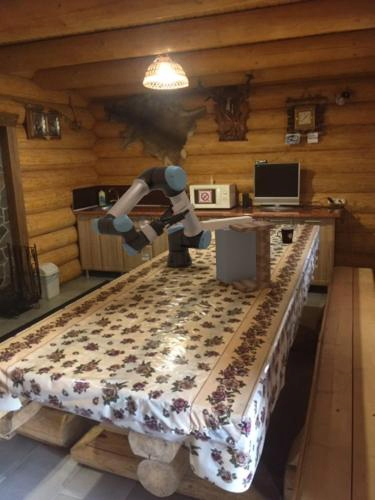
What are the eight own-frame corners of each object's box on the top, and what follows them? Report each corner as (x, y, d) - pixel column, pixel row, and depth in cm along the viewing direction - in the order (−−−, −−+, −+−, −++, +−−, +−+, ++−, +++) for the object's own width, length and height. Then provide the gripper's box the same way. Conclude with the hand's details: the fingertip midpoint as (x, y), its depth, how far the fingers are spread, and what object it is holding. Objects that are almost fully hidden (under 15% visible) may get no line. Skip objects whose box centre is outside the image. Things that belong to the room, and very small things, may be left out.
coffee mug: (292, 241, 291) (292, 226, 288) (294, 243, 282) (294, 229, 280) (275, 241, 292) (275, 227, 290) (277, 244, 284) (277, 229, 281)
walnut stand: (242, 292, 194) (240, 228, 187) (230, 285, 205) (229, 224, 198) (276, 286, 199) (276, 224, 192) (263, 279, 210) (262, 220, 203)
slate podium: (226, 283, 207) (224, 230, 201) (216, 277, 218) (214, 226, 212) (256, 278, 212) (256, 226, 206) (245, 272, 224) (244, 222, 217)
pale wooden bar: (204, 231, 201) (203, 222, 200) (200, 229, 206) (199, 221, 205) (252, 225, 210) (252, 217, 209) (247, 223, 214) (247, 215, 213)
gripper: (150, 232, 207) (183, 207, 211) (165, 242, 185) (202, 213, 188) (141, 220, 205) (176, 195, 208) (156, 228, 182) (194, 200, 185)
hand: (188, 203), depth 198 cm, fingers open, 13 cm apart
